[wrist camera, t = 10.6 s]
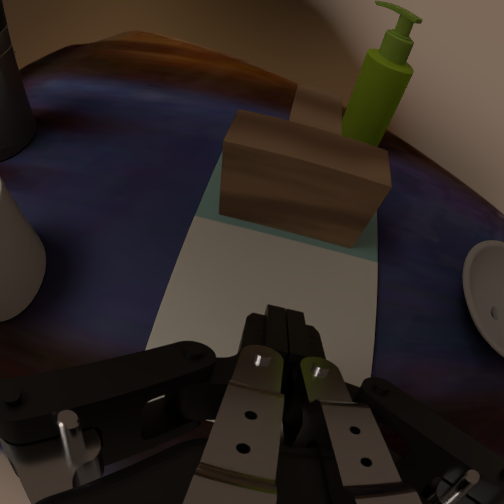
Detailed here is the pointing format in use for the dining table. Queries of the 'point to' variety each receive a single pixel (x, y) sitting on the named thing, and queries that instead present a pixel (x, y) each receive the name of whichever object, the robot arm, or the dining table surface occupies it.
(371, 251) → the board
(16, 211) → the toilet tissue
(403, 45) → the soap dispenser
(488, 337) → the dish
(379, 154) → the t block
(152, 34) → the dining table surface
